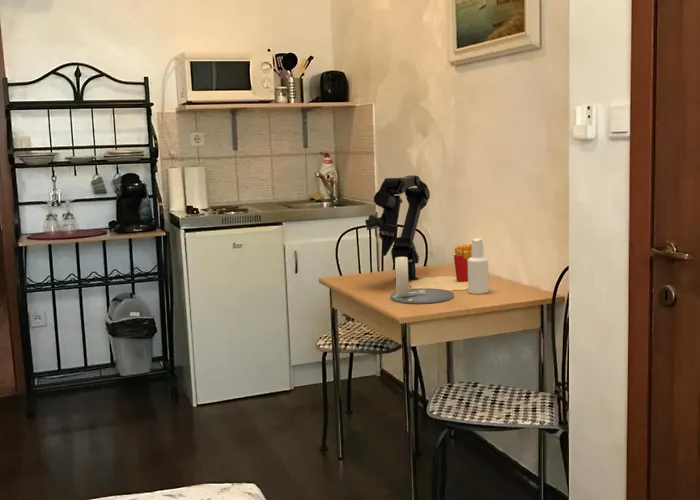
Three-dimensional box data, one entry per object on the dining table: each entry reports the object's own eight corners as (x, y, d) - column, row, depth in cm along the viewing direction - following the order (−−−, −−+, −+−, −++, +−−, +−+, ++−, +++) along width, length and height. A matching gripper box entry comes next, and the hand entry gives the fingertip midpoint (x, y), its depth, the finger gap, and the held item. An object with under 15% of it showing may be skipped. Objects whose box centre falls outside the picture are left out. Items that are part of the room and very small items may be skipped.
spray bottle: (490, 290, 264) (489, 237, 261) (487, 294, 258) (485, 240, 255) (470, 289, 266) (468, 237, 264) (466, 294, 260) (465, 240, 257)
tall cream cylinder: (414, 292, 259) (412, 255, 257) (419, 295, 256) (418, 256, 254) (393, 295, 257) (391, 257, 255) (398, 297, 253) (397, 259, 251)
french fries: (458, 282, 280) (457, 246, 278) (452, 280, 284) (451, 245, 282) (480, 279, 283) (480, 244, 281) (474, 277, 287) (474, 242, 285)
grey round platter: (429, 288, 273) (429, 281, 272) (466, 297, 254) (466, 290, 254) (378, 296, 262) (378, 290, 262) (413, 307, 244) (413, 300, 244)
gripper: (368, 213, 286) (362, 254, 284) (368, 204, 267) (360, 249, 266) (399, 217, 285) (392, 259, 284) (400, 209, 267) (393, 254, 265)
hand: (384, 255), depth 275 cm, fingers closed
